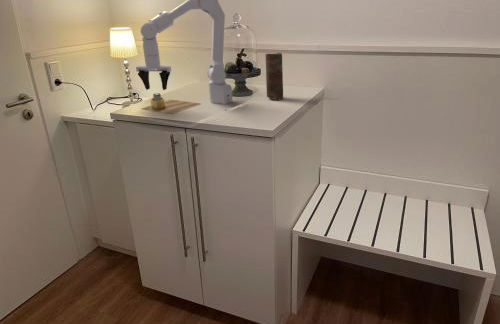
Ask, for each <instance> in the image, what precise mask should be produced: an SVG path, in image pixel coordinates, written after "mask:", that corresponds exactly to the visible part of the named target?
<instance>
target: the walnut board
mask: <svg viewBox="0 0 500 324" xmlns="http://www.w3.org/2000/svg"><path fill="white" fill-rule="evenodd" d="M164 101H165V107H164V108H160V109H153V108H152V106H151V105H148V106H146V107H142V108H141V107H140V110H145V111H150V112H151V111H152V112H157V113H164V114H169V115H173V114H178V113H180V112H182V111H185V110H189V109H190V108H193V107H196V106H200V105H201V103H199V102H198V103H197V102H193V101H192V102H191V101H186V100H177V99H167V100H164Z"/></svg>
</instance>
